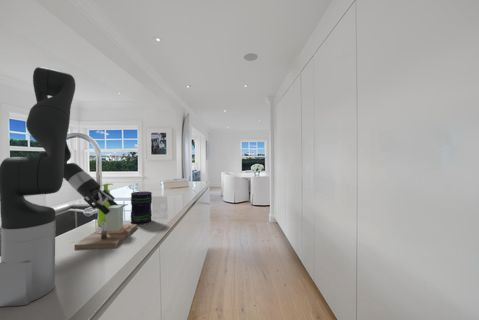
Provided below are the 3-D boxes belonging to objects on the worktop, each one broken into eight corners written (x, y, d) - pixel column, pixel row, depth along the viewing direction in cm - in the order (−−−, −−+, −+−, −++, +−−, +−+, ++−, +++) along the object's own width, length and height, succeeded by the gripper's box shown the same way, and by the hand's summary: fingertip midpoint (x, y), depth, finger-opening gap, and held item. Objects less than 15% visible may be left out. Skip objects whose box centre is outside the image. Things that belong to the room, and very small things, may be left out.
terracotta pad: (121, 233, 86) (121, 232, 86) (97, 233, 85) (97, 233, 85) (129, 226, 95) (129, 225, 95) (108, 226, 94) (108, 226, 94)
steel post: (105, 238, 80) (105, 222, 80) (99, 238, 80) (100, 222, 80) (107, 236, 82) (108, 220, 82) (102, 236, 82) (102, 220, 82)
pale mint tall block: (118, 231, 88) (118, 207, 88) (105, 231, 87) (105, 207, 87) (122, 227, 93) (123, 205, 93) (110, 227, 92) (111, 205, 92)
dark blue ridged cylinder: (141, 218, 113) (141, 191, 113) (155, 220, 110) (156, 192, 110) (125, 223, 104) (126, 193, 103) (141, 225, 100) (141, 195, 100)
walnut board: (115, 247, 76) (116, 243, 76) (74, 249, 74) (74, 244, 74) (137, 227, 98) (137, 224, 98) (105, 228, 96) (105, 225, 96)
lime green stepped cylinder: (116, 221, 106) (116, 183, 106) (106, 226, 99) (106, 184, 99) (105, 221, 106) (106, 182, 106) (95, 225, 99) (95, 184, 99)
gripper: (81, 179, 82) (111, 208, 83) (100, 176, 96) (126, 200, 97) (66, 193, 81) (97, 221, 82) (87, 188, 95) (114, 212, 97)
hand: (113, 210), depth 90 cm, fingers open, 8 cm apart
